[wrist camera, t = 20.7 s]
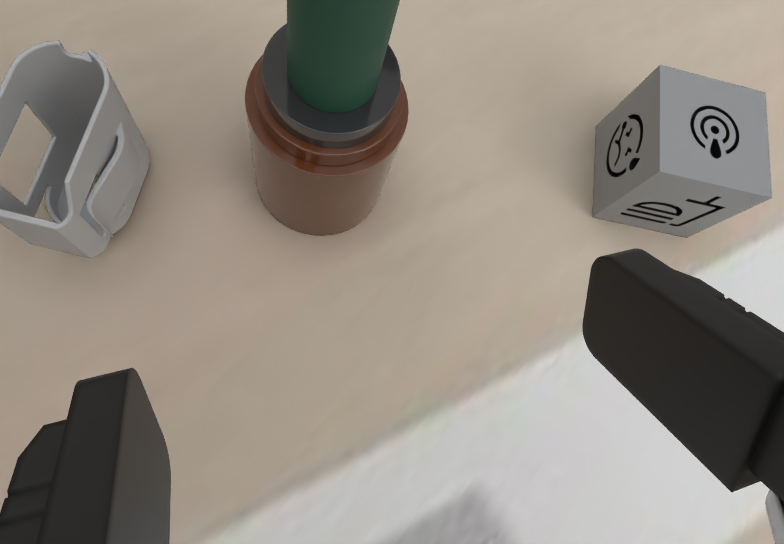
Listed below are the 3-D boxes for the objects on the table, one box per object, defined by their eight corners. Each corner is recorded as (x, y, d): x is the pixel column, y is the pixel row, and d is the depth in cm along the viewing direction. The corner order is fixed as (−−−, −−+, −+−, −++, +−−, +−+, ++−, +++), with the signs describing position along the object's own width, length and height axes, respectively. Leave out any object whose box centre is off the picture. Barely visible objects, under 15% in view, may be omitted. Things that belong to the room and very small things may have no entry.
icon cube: (686, 237, 54) (772, 197, 44) (592, 216, 52) (659, 171, 43) (685, 147, 57) (765, 92, 47) (596, 126, 55) (660, 64, 46)
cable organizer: (37, 254, 42) (-54, 192, 31) (95, 118, 46) (31, 18, 35) (125, 274, 43) (67, 222, 32) (174, 139, 47) (138, 48, 35)
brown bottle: (227, 177, 47) (200, 67, 32) (314, 98, 50) (325, -33, 36) (324, 261, 46) (341, 188, 32) (405, 176, 50) (453, 75, 35)
